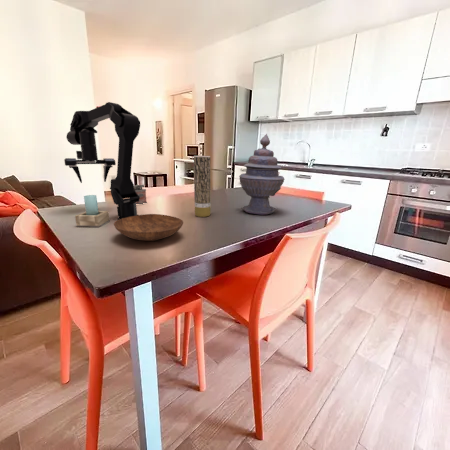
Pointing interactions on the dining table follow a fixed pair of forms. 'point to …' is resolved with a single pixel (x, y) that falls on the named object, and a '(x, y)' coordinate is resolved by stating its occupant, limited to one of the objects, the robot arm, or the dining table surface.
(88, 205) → the peg
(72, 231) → the dining table surface
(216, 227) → the dining table surface
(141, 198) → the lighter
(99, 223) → the socket
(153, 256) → the dining table surface
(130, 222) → the bowl
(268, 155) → the decorative urn
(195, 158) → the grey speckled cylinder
